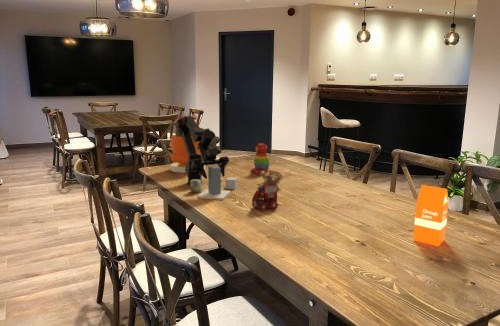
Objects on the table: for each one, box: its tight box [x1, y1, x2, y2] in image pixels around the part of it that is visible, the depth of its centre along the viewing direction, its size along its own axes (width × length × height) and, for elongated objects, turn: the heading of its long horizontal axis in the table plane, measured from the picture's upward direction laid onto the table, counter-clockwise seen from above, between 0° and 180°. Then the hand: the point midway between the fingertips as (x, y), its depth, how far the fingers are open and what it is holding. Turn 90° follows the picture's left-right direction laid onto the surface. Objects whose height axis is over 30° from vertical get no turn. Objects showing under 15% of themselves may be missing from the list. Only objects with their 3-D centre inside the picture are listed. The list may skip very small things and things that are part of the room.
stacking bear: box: [250, 142, 270, 176], centre depth 252 cm, size 11×10×18 cm
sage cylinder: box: [190, 179, 202, 194], centre depth 209 cm, size 5×5×6 cm
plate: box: [196, 188, 232, 201], centre depth 204 cm, size 13×13×1 cm
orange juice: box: [412, 184, 449, 247], centre depth 149 cm, size 8×9×20 cm
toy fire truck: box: [251, 185, 279, 212], centre depth 184 cm, size 7×12×10 cm, turn 115°
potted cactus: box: [169, 112, 206, 174], centre depth 254 cm, size 22×22×35 cm
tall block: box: [207, 165, 222, 195], centre depth 203 cm, size 4×4×13 cm
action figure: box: [260, 169, 284, 187], centre depth 223 cm, size 10×11×15 cm
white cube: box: [225, 176, 239, 190], centre depth 218 cm, size 5×5×5 cm
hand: (215, 177), depth 201 cm, fingers open, 9 cm apart
